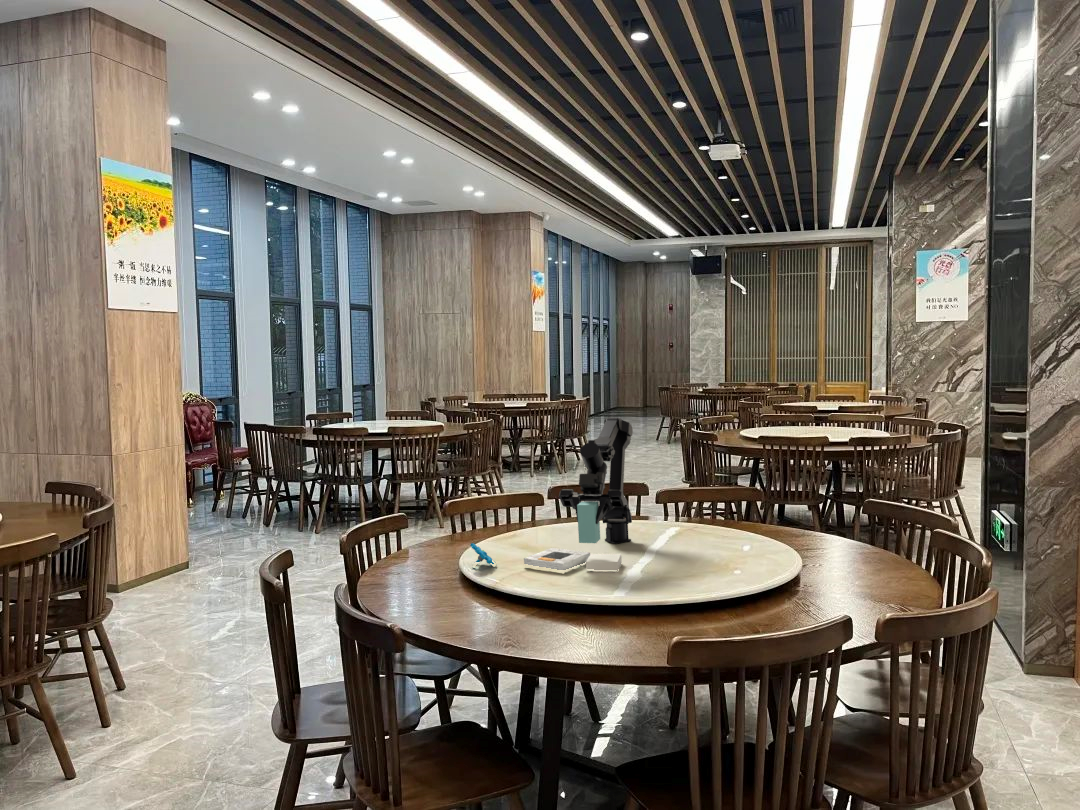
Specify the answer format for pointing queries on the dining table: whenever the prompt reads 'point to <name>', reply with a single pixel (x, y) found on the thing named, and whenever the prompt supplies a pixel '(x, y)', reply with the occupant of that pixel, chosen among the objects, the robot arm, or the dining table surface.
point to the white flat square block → (604, 561)
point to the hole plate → (557, 558)
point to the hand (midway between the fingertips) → (587, 522)
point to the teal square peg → (588, 522)
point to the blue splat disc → (481, 554)
